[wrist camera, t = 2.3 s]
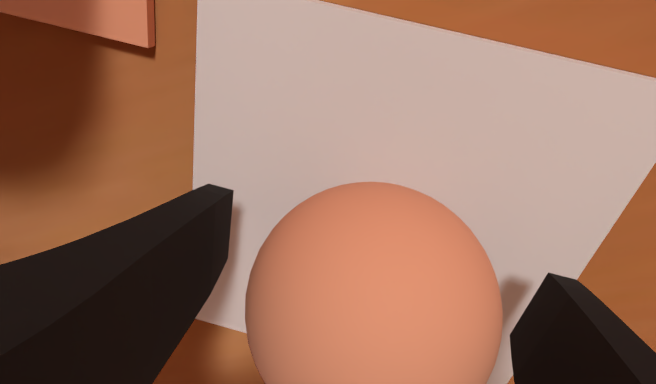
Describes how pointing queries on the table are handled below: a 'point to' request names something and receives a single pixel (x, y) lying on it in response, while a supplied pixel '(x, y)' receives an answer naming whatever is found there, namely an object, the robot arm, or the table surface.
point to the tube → (92, 17)
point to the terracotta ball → (373, 293)
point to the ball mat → (414, 136)
